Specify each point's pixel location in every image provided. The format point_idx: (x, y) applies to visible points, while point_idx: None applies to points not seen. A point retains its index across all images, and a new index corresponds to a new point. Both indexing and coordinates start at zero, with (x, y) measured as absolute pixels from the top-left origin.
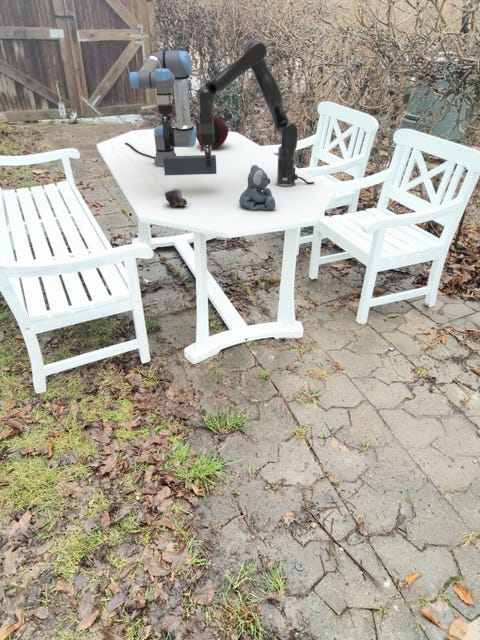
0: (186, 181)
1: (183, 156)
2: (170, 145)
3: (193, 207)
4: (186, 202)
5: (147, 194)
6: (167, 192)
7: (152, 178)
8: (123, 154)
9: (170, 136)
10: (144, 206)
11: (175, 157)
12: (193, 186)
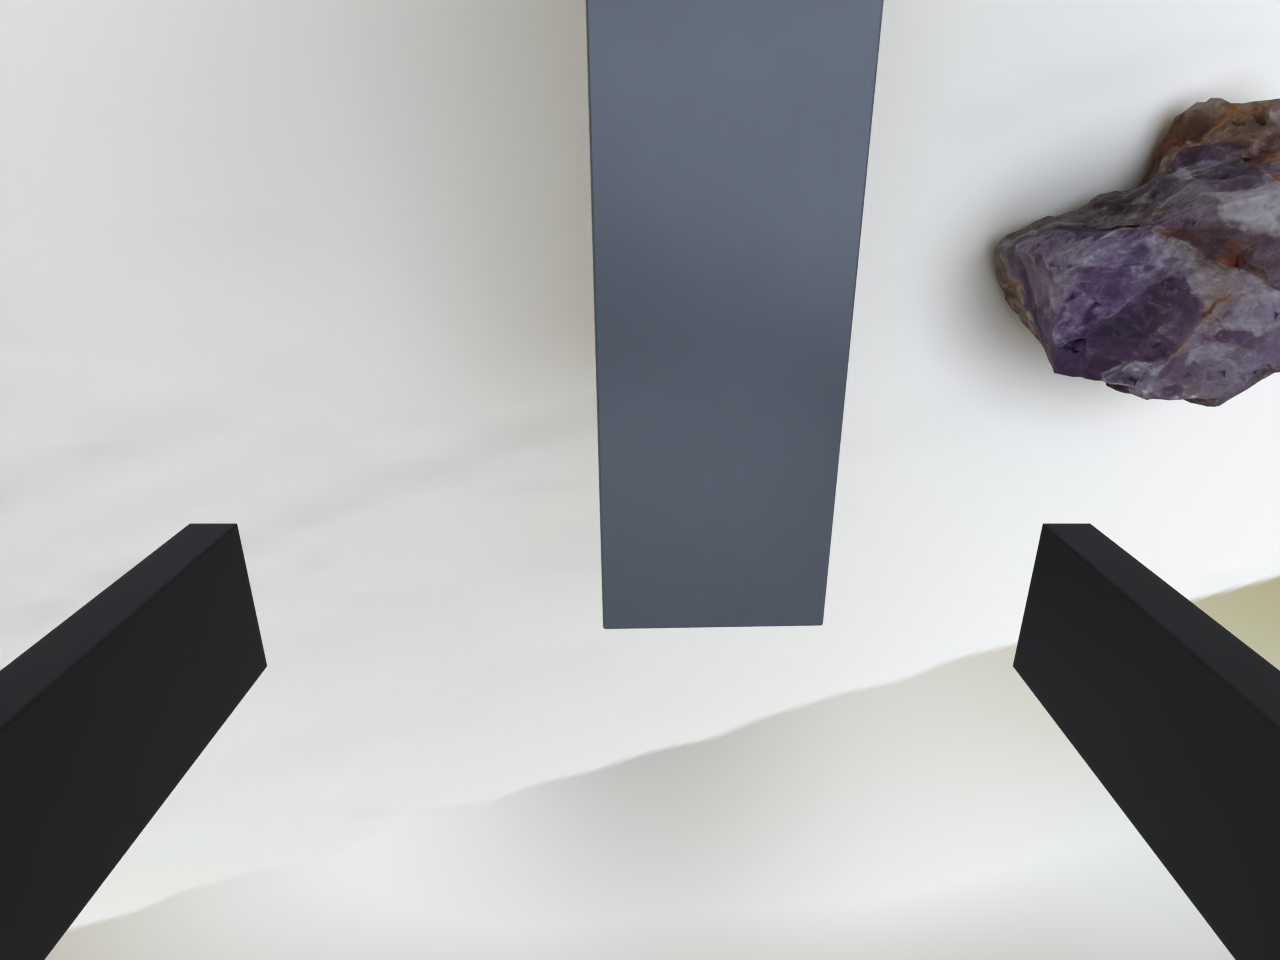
0: (173, 181)
1: (663, 131)
2: (244, 597)
3: (1247, 12)
4: (1266, 103)
5: None
6: (1264, 375)
7: None
8: None
9: (31, 782)
10: None
11: (740, 357)
12: (391, 56)
